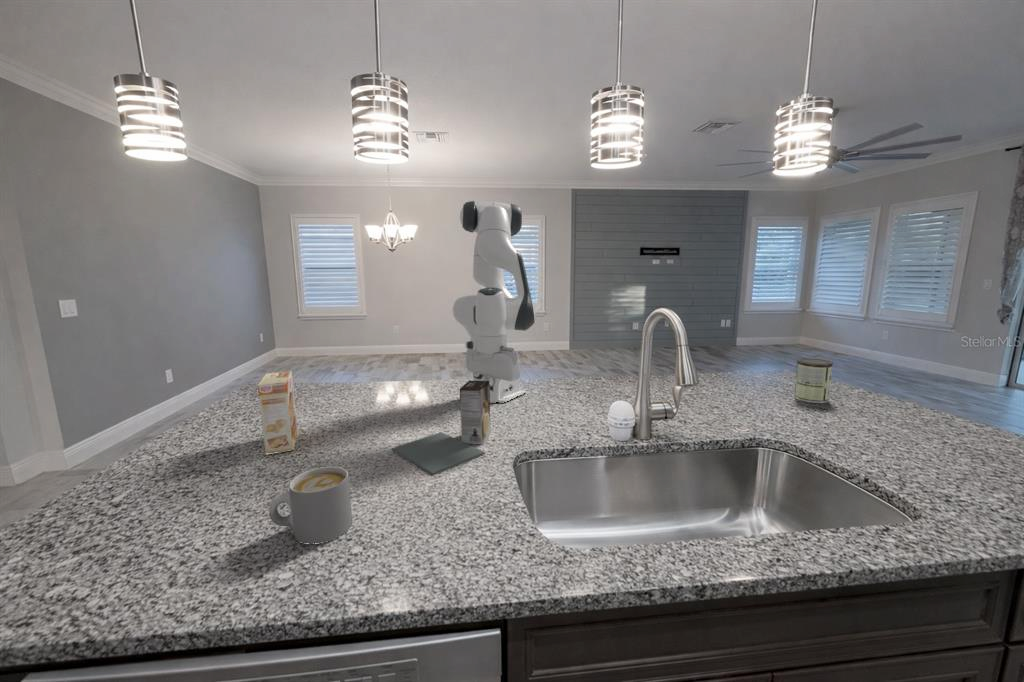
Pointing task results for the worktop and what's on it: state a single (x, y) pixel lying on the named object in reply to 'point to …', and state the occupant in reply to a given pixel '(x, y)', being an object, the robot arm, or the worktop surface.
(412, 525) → the worktop surface
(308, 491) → the coffee mug
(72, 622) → the worktop surface
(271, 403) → the coffeecake box
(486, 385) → the coffee box
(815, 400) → the coffee can
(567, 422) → the worktop surface
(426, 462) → the mat
